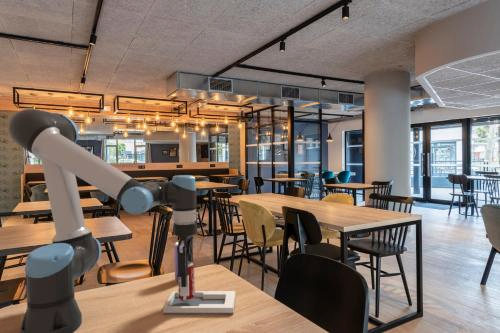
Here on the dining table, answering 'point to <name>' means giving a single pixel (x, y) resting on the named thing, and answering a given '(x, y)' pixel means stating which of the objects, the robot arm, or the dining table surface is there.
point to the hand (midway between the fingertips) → (186, 291)
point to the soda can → (191, 284)
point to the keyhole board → (201, 304)
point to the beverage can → (176, 262)
